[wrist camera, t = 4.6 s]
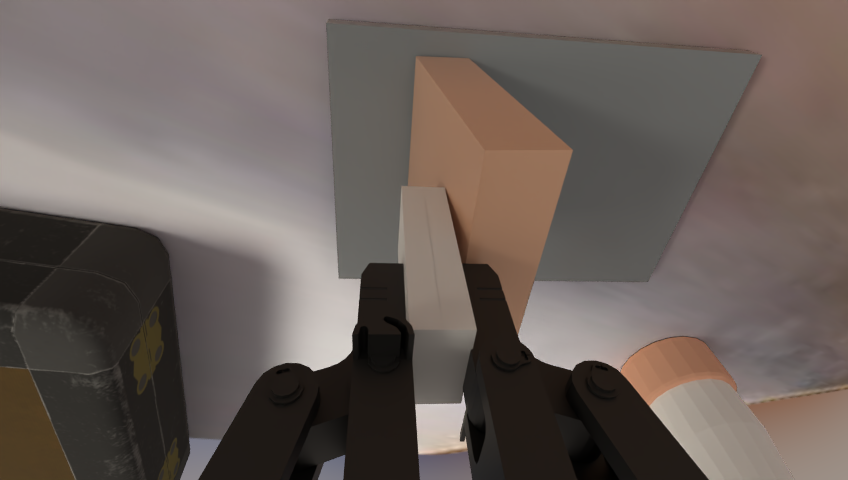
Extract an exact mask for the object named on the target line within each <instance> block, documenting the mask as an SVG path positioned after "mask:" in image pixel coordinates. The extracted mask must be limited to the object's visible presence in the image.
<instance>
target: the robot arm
mask: <svg viewBox="0 0 848 480" xmlns="http://www.w3.org/2000/svg"><path fill="white" fill-rule="evenodd" d="M352 342H353V350H352V352H351V353H350V354H349V355H348V356H347V357H346V358H345V359H344V360H343V361H341V362H340V363H338V364H336V365H333V366H331V367H328V368H324V369H321V370H317V371H314V372H313V371H312V370H311V369H310V368H309V367H307V366H304V365H302V364H299V363H285V364H282V365H278V366H275V367H273V368H271V369H270V370H268V371H267V372H265V373H263V375H262V376H261V377H260V378H259V379H258V380H257V382H256V383H255V384H254V386H253V388H252V390H251V391H250V393H249V395H248V396H247V398H246V400H245V401H244V403H243V405H242V406H241V408H240V410H239V412H238V413H237V415H236V417H235V418H234V420H233V422H232V423H231V425H230V427H229V429H228V430H227V432H226V434H225V435H224V437H223V439H222V440H221V442H220V444H219V445H218V447H217V449H216V451H215V452H214V454H213V456H212V458H211V459H210V461H209V462H208V464H207V466H206V468H205V469H204V471H203V473H202V475H201V476H200V478H199V480H318V477H319V475H320V472H321V469H322V466H323V464H324V462H326V461H329V460H331V459H334V458H337V457H340V456H343V455H345V467H344V479H343V480H420V477H419V459H418V443H417V427H416V410H415V404H450V403H461V401H462V396H463V392H464V398H465V404H466V411H465V415H464V420H463V424H462V428H461V432H460V441H464V440H465V436H466V442H467V448H468V455H469V461H470V468H471V473H472V480H709V479H708V478H707V477H706V475H705V474H704V473H703V472H702V471H701V469H700V468H699V467H698V466H697V464H696V463H695V462H694V461H693V459H692V458H691V457H690V456H689V455H688V453H687V452H686V451H685V450H684V448H683V447H682V446H681V445H680V444H679V442H678V441H677V440H676V439H675V437H674V436H673V435H672V434H671V432H670V431H669V430H668V429H667V428H666V426H665V425H664V424H663V423H662V421H661V420H660V419H659V418H658V417H657V415H656V414H655V413H654V412H653V410H652V409H651V408H650V407H649V405H648V404H647V403H646V402H645V401H644V399H643V398H642V397H641V396H640V394H639V393H638V392H637V391H636V389H635V388H634V387H633V386H632V385H631V383H630V382H629V381H628V380H627V378H626V377H624V376H623V375H622V374H621V373H620V372H619V371H618V370H617V369H615V368H613V367H611V366H610V365H608V364H606V363H602V362H599V361H583V362H581V363H579V364H577V365H576V366H575V368H574V369H573V371H571V370H567V369H564V368H560V367H556V366H553V365H549V364H547V363H544V362H541V361H540V360H538V359H536V358H534V356H533V354H532V352H531V351H530V350H529V349H528V348H527V347H526V346H525V345H523V344H522V343H521V342H520V340H519V338H518V335H517V332H516V329H515V326H514V322H513V319H512V316H511V313H510V310H509V307H508V304H507V301H506V298H505V295H504V292H503V290H502V286H501V283H500V280H499V276H498V275H497V274H496V272H495V271H494V270H493V269H492V268H491V267H490V266H489V265H488V264H465V263H462V262H461V258H460V253H459V249H458V244H457V240H456V235H455V231H454V227H453V222H452V218H451V213H450V209H449V205H448V200H447V196H446V191H445V188H443V187H417V186H401V204H400V222H399V240H398V263H369V264H368V265H367V267H366V268H365V270H364V271H363V273H362V274H361V286H360V299H359V311H358V323H357V324H356V325H355V328H354V331H353V334H352Z"/></svg>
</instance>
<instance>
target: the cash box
mask: <svg viewBox="0 0 848 480" xmlns="http://www.w3.org/2000/svg"><path fill="white" fill-rule="evenodd" d="M189 454H190V444H189V434H188V425H187V416H186V407H185V398H184V389H183V380H182V371H181V362H180V353H179V344H178V335H177V326H176V317H175V308H174V299H173V290H172V281H171V274H170V265H169V256H168V253H167V251H166V250H165V248H164V247H163V245H162V243H161V242H160V240H159V239H158V238H157V237H155V236H152V235H150V234H148V233H145V232H143V231H141V230H138V229H136V228H130V227H124V226H117V225H110V224H103V223H97V222H90V221H84V220H77V219H70V218H63V217H57V216H50V215H43V214H36V213H29V212H23V211H16V210H9V209H2V208H0V480H180V478H181V475H182V473H183V470H184V467H185V465H186V462H187V460H188V457H189Z"/></svg>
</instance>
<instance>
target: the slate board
mask: <svg viewBox="0 0 848 480" xmlns="http://www.w3.org/2000/svg"><path fill="white" fill-rule="evenodd" d="M326 30H327V50H328V70H329V90H330V111H331V131H332V151H333V172H334V192H335V212H336V232H337V253H338V273H339V278H340V279H361V274H362V273H363V271H364V270H365V268H366V267H367V265H368V264H369V263H398V240H399V222H400V204H401V186H408V174H409V159H410V143H411V127H412V111H413V95H414V79H415V63H416V56H428V57H452V58H469V59H470V60H471V61H473V62H474V63H475V64H476V65H477V66H478V67H479V68H481V69H482V70H483V71H484V72H485V73H486V74H487V75H488V76H490V77H491V78H492V79H493V80H494V81H495V82H496V83H498V84H499V85H500V86H501V87H502V88H503V89H504V90H505V91H507V92H508V93H509V94H510V95H511V96H512V97H513V98H515V99H516V100H517V101H518V102H519V103H520V104H521V105H523V106H524V107H525V108H526V109H527V110H528V111H529V112H530V113H532V114H533V115H534V116H535V117H536V118H537V119H538V120H540V121H541V122H542V123H543V124H544V125H545V126H546V127H548V128H549V129H550V130H551V131H552V132H553V133H554V134H555V135H557V136H558V137H559V138H560V139H561V140H562V141H563V142H565V143H566V144H567V145H568V146H569V147H570V148H571V149H572V150H573V152H572V155H571V159H570V162H569V165H568V169H567V172H566V175H565V179H564V182H563V185H562V189H561V192H560V195H559V199H558V202H557V205H556V209H555V212H554V216H553V219H552V222H551V226H550V229H549V232H548V236H547V239H546V242H545V246H544V249H543V252H542V256H541V259H540V262H539V266H538V269H537V272H536V276H535V279H534V281H608V282H648V281H649V279H650V277H651V275H652V273H653V271H654V269H655V267H656V265H657V263H658V261H659V259H660V257H661V255H662V253H663V251H664V249H665V247H666V245H667V243H668V241H669V239H670V237H671V235H672V233H673V231H674V229H675V227H676V225H677V223H678V221H679V219H680V217H681V215H682V213H683V211H684V209H685V207H686V205H687V203H688V201H689V199H690V197H691V195H692V193H693V191H694V189H695V187H696V185H697V183H698V181H699V179H700V177H701V175H702V173H703V172H704V170H705V168H706V166H707V164H708V162H709V160H710V158H711V156H712V154H713V152H714V150H715V148H716V146H717V144H718V142H719V140H720V138H721V136H722V134H723V132H724V130H725V128H726V126H727V124H728V122H729V120H730V118H731V116H732V114H733V112H734V110H735V108H736V106H737V104H738V102H739V100H740V98H741V96H742V94H743V92H744V90H745V88H746V86H747V84H748V82H749V80H750V78H751V76H752V74H753V72H754V70H755V68H756V66H757V64H758V62H759V60H760V58H761V56H762V55H761V54H758V53H754V52H751V51H748V50H737V49H723V48H710V47H696V46H683V45H669V44H656V43H642V42H629V41H616V40H602V39H589V38H575V37H562V36H548V35H535V34H521V33H508V32H494V31H481V30H467V29H454V28H440V27H427V26H413V25H400V24H387V23H373V22H360V21H346V20H333V19H329V20H328V21H327V23H326Z"/></svg>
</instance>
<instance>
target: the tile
mask: <svg viewBox="0 0 848 480" xmlns="http://www.w3.org/2000/svg"><path fill="white" fill-rule="evenodd" d="M572 152H573V150H572V149H571V148H570V147H569V146H568V145H567V144H566V143H565V142H563V141H562V140H561V139H560V138H559V137H558V136H557V135H555V134H554V133H553V132H552V131H551V130H550V129H549V128H548V127H546V126H545V125H544V124H543V123H542V122H541V121H540V120H538V119H537V118H536V117H535V116H534V115H533V114H532V113H530V112H529V111H528V110H527V109H526V108H525V107H524V106H523V105H521V104H520V103H519V102H518V101H517V100H516V99H515V98H513V97H512V96H511V95H510V94H509V93H508V92H507V91H505V90H504V89H503V88H502V87H501V86H500V85H499V84H498V83H496V82H495V81H494V80H493V79H492V78H491V77H490V76H488V75H487V74H486V73H485V72H484V71H483V70H482V69H481V68H479V67H478V66H477V65H476V64H475V63H474V62H473V61H471V60H470V59H469V58H452V57H428V56H416V63H415V79H414V95H413V111H412V127H411V143H410V159H409V174H408V186H417V187H443V188H445V191H446V196H447V200H448V205H449V209H450V213H451V218H452V222H453V227H454V231H455V235H456V240H457V244H458V249H459V253H460V258H461V262H462V263H465V264H488V265H489V266H490V267H491V268H492V269H493V270H494V271H495V272H496V274H497V275H498V276H499V280H500V283H501V286H502V290H503V292H504V295H505V298H506V301H507V304H508V307H509V310H510V313H511V316H512V319H513V322H514V326H515V329H516V332H517V335H518V333H519V329H520V326H521V323H522V319H523V316H524V313H525V309H526V306H527V302H528V299H529V296H530V292H531V289H532V286H533V282H534V279H535V276H536V272H537V269H538V266H539V262H540V259H541V256H542V252H543V249H544V246H545V242H546V239H547V236H548V232H549V229H550V226H551V222H552V219H553V216H554V212H555V209H556V205H557V202H558V199H559V195H560V192H561V189H562V185H563V182H564V179H565V175H566V172H567V169H568V165H569V162H570V159H571V155H572Z"/></svg>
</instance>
